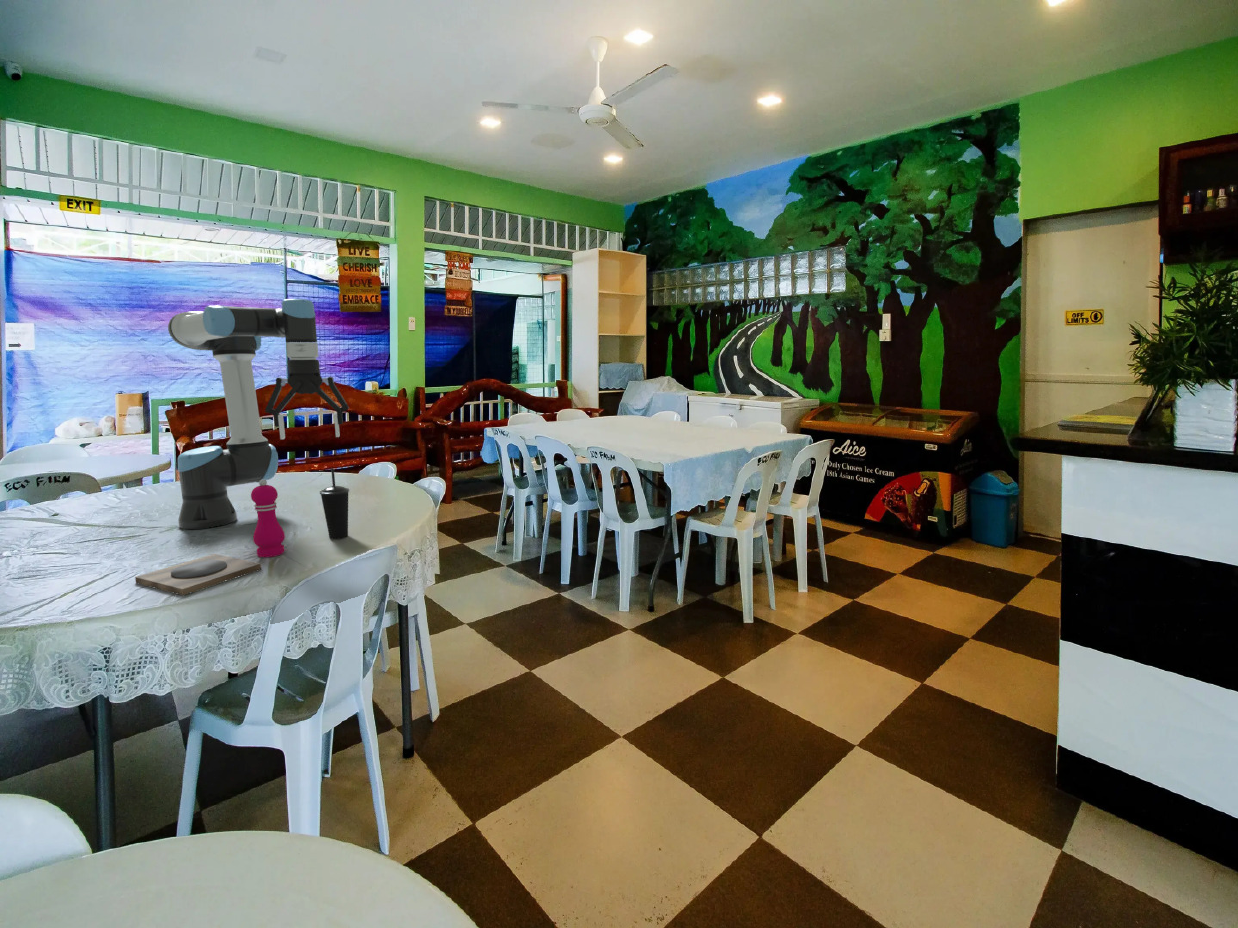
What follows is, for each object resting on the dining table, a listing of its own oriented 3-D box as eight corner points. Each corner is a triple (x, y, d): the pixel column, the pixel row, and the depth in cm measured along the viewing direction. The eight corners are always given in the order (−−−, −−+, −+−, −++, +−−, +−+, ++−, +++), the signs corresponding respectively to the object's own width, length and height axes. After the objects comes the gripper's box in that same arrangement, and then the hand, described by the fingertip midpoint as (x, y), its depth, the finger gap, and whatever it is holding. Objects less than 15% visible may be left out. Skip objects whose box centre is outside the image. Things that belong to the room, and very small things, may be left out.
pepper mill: (278, 547, 166) (269, 475, 163) (292, 552, 162) (284, 478, 159) (249, 554, 161) (240, 480, 157) (263, 560, 157) (254, 483, 153)
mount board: (135, 583, 141) (134, 574, 141) (215, 559, 157) (214, 551, 157) (183, 595, 134) (182, 586, 133) (261, 569, 150) (260, 561, 149)
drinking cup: (334, 542, 171) (328, 472, 167) (318, 538, 175) (311, 469, 171) (358, 535, 177) (353, 467, 173) (342, 531, 181) (336, 465, 177)
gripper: (246, 359, 157) (256, 441, 160) (352, 358, 165) (359, 437, 168) (253, 359, 164) (262, 437, 167) (354, 358, 172) (360, 433, 175)
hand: (310, 437), depth 168 cm, fingers open, 13 cm apart
